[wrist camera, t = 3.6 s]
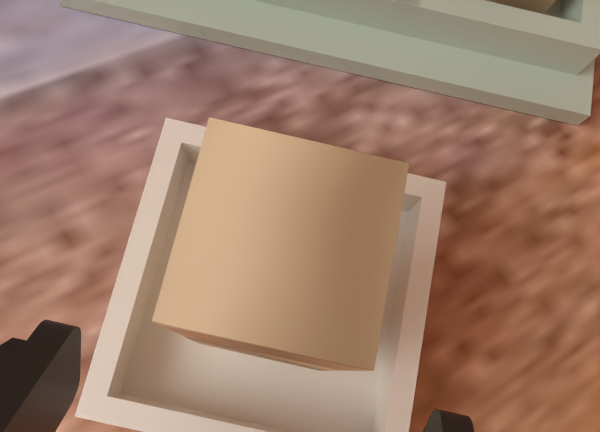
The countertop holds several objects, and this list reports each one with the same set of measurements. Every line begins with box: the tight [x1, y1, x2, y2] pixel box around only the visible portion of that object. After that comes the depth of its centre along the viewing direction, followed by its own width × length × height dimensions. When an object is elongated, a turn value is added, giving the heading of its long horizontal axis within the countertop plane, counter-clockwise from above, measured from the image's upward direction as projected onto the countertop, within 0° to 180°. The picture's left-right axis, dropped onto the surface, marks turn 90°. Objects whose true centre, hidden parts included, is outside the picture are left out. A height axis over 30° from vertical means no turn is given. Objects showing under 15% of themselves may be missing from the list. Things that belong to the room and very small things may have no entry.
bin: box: [75, 118, 446, 432], centre depth 21 cm, size 11×11×2 cm
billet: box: [152, 117, 409, 371], centre depth 17 cm, size 4×5×10 cm
